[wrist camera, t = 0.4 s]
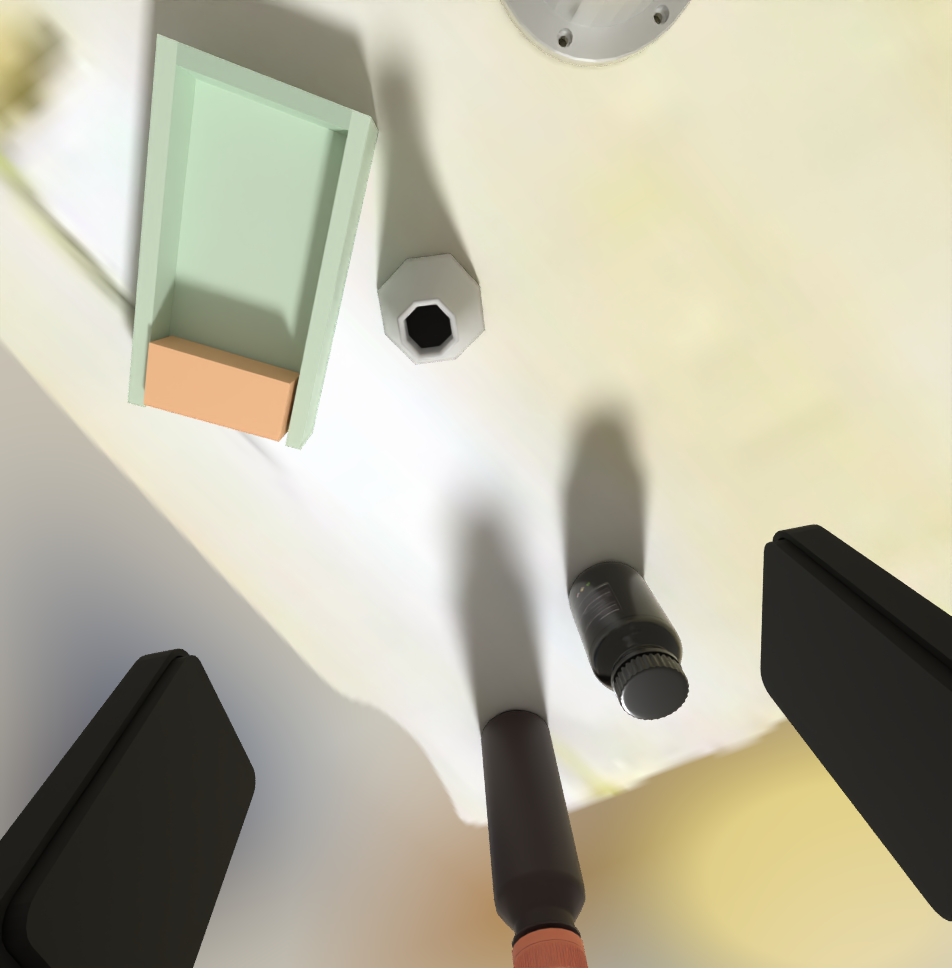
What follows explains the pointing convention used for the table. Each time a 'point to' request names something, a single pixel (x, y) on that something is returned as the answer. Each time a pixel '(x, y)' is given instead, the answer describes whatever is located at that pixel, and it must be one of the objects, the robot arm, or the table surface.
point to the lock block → (219, 387)
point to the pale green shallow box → (247, 219)
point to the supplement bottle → (629, 640)
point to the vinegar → (531, 843)
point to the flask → (431, 308)
